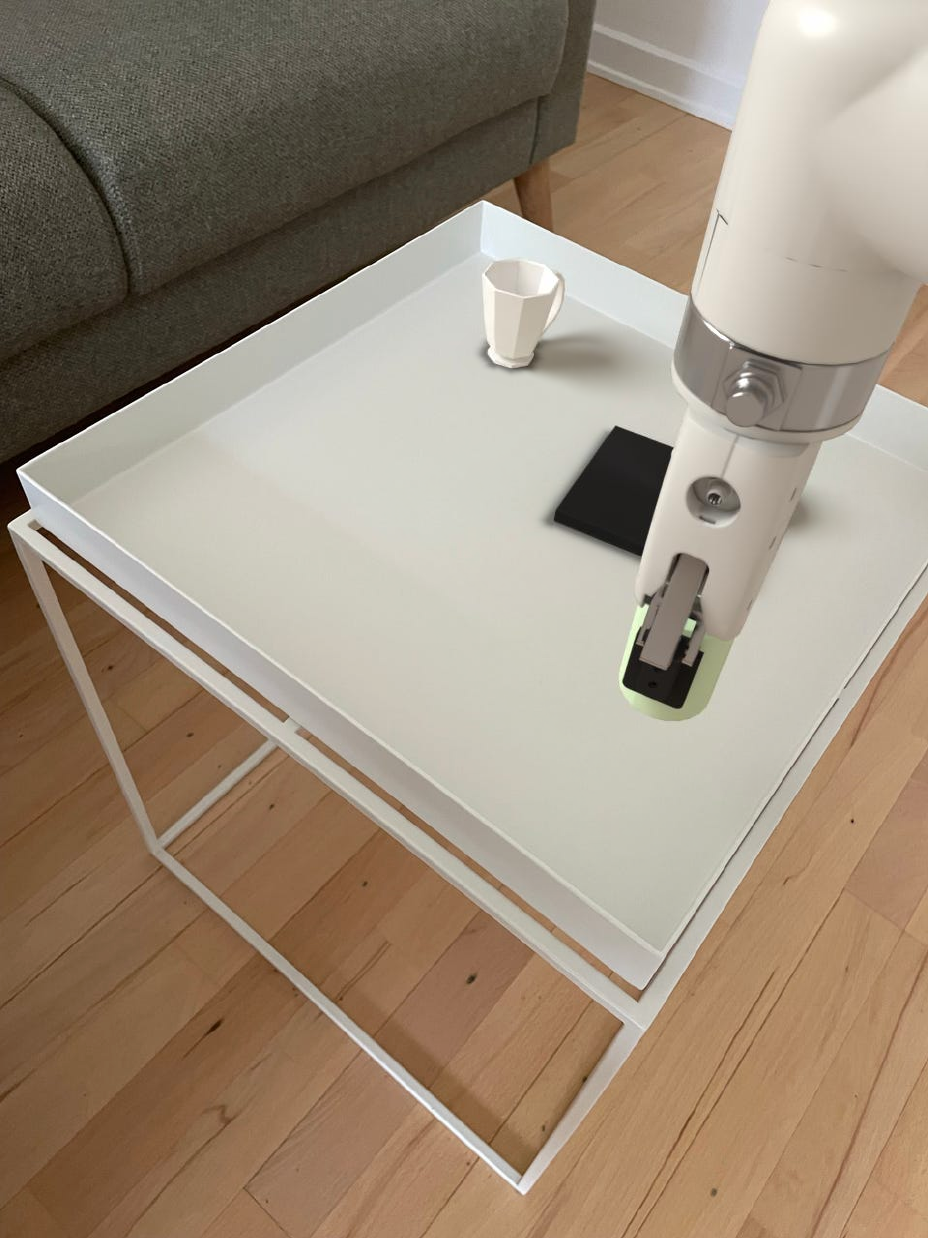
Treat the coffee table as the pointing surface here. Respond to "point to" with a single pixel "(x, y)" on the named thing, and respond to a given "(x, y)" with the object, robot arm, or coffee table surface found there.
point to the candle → (701, 684)
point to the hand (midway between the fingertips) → (669, 658)
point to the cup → (519, 308)
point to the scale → (618, 490)
